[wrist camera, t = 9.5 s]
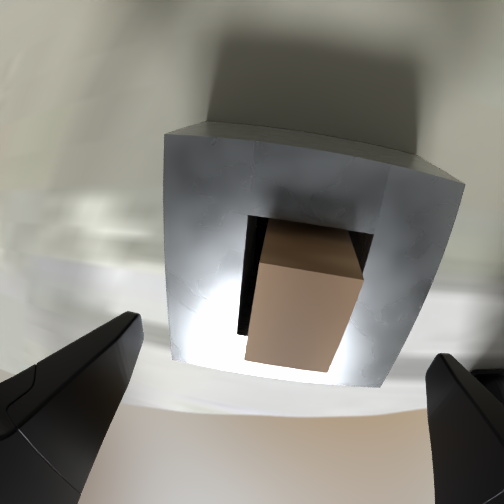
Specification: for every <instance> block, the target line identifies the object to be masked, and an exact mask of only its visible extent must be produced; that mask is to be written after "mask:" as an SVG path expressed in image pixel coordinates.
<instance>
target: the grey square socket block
mask: <svg viewBox="0 0 504 504" xmlns="http://www.w3.org/2000/svg"><path fill="white" fill-rule="evenodd" d="M464 188H465V184H464V183H463V182H461V181H459V180H458V179H456V178H455V177H453V176H451V175H450V174H448V173H446V172H445V171H443V170H441V169H440V168H438V167H436V166H435V165H433V164H431V163H429V162H428V161H426V160H424V159H422V158H421V157H419V156H417V155H414V154H410V153H406V152H402V151H398V150H394V149H390V148H386V147H381V146H377V145H372V144H368V143H363V142H358V141H353V140H348V139H343V138H338V137H332V136H327V135H321V134H315V133H309V132H302V131H296V130H288V129H281V128H273V127H265V126H256V125H247V124H236V123H225V122H211V121H205V122H201V123H198V124H194V125H191V126H188V127H185V128H182V129H178V130H175V131H172V132H169V133H166V134H164V173H163V211H164V251H165V274H166V291H167V306H168V319H169V331H170V342H171V352H172V360H176V361H181V362H185V363H190V364H195V365H199V366H204V367H210V368H215V369H220V370H226V371H231V372H237V373H243V374H249V375H256V376H262V377H269V378H276V379H284V380H292V381H301V382H310V383H320V384H331V385H344V386H359V387H379V388H380V387H381V385H382V383H383V382H384V380H385V378H386V376H387V375H388V373H389V371H390V369H391V367H392V366H393V364H394V362H395V360H396V358H397V356H398V355H399V353H400V351H401V349H402V347H403V345H404V343H405V341H406V339H407V337H408V335H409V333H410V331H411V329H412V327H413V325H414V323H415V321H416V319H417V316H418V314H419V312H420V310H421V308H422V305H423V303H424V301H425V299H426V296H427V294H428V292H429V289H430V287H431V285H432V282H433V280H434V277H435V275H436V272H437V270H438V267H439V265H440V262H441V259H442V257H443V254H444V251H445V248H446V246H447V243H448V240H449V237H450V234H451V231H452V228H453V225H454V222H455V219H456V215H457V212H458V209H459V205H460V202H461V199H462V195H463V191H464ZM258 216H260V217H267V218H274V219H281V220H287V221H294V222H301V223H307V224H314V225H320V226H326V227H333V228H339V229H345V230H348V233H349V236H350V239H351V241H352V244H353V247H354V250H355V253H356V256H357V259H358V262H359V265H360V269H361V272H362V275H363V278H364V282H363V285H362V288H361V291H360V293H359V296H358V299H357V302H356V304H355V307H354V310H353V312H352V315H351V317H350V320H349V322H348V325H347V328H346V330H345V333H344V335H343V337H342V340H341V342H340V345H339V347H338V349H337V352H336V354H335V357H334V359H333V361H332V363H331V366H330V368H329V370H328V373H322V372H314V371H306V370H299V369H292V368H285V367H278V366H272V365H265V364H259V363H254V362H248V361H244V355H245V349H246V343H247V337H248V331H249V324H250V318H251V312H252V306H253V300H254V293H255V287H256V281H257V275H258V273H256V272H252V268H253V259H254V250H255V242H256V233H257V224H258Z"/></svg>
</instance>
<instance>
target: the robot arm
mask: <svg viewBox="0 0 504 504" xmlns="http://www.w3.org/2000/svg"><path fill="white" fill-rule="evenodd" d="M143 340H144V332H143V325H142V319H141V316H140V314H138V313H134V312H130V311H127V312H125V313H123V314H121V315H119V316H118V317H116V318H114V319H112V320H111V321H109V322H107V323H105V324H104V325H102V326H100V327H98V328H97V329H95V330H93V331H91V332H90V333H88V334H86V335H84V336H83V337H81V338H79V339H78V340H76V341H74V342H72V343H71V344H69V345H67V346H65V347H64V348H62V349H60V350H59V351H57V352H55V353H53V354H52V355H50V356H48V357H46V358H45V359H43V360H41V361H40V362H38V363H37V365H36V364H34V365H33V366H31V367H29V368H27V369H26V370H24V371H22V372H20V373H19V374H17V375H15V376H13V377H11V378H9V379H7V380H5V381H3V382H1V383H0V504H78V501H79V498H80V496H81V494H80V493H82V490H83V488H84V485H85V483H86V480H87V478H88V475H89V473H90V471H91V468H92V466H93V463H94V461H95V459H96V456H97V454H98V451H99V449H100V447H101V445H102V442H103V440H104V437H105V435H106V433H107V431H108V429H109V426H110V424H111V422H112V419H113V417H114V415H115V413H116V411H117V408H118V406H119V404H120V402H121V400H122V397H123V395H124V393H125V391H126V389H127V386H128V384H129V382H130V379H131V376H132V373H133V370H134V367H135V364H136V361H137V358H138V355H139V352H140V349H141V346H142V343H143ZM425 380H426V394H427V414H428V424H429V433H430V441H431V450H432V460H433V472H434V488H435V504H504V369H502V370H481V371H474V372H472V373H470V372H469V371H468V370H467V369H465V368H464V367H463V366H462V365H461V364H460V363H459V362H458V361H457V360H456V359H455V358H454V357H453V356H452V355H450V354H448V353H439V354H438V355H436V357H435V358H434V360H433V362H432V363H431V365H430V367H429V368H428V370H427V372H426V376H425Z"/></svg>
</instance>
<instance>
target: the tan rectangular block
mask: <svg viewBox="0 0 504 504" xmlns="http://www.w3.org/2000/svg"><path fill="white" fill-rule="evenodd" d="M363 282H364V278H363V275H362V272H361V269H360V265H359V262H358V259H357V256H356V253H355V250H354V247H353V244H352V241H351V239H350V236H349V233H348V230H345V229H339V228H333V227H326V226H320V225H314V224H307V223H301V222H294V221H287V220H281V219H274V218H269V221H268V225H267V230H266V235H265V239H264V244H263V248H262V253H261V258H260V262H259V268H258V275H257V281H256V287H255V293H254V300H253V306H252V312H251V318H250V324H249V331H248V337H247V343H246V349H245V355H244V361H248V362H254V363H259V364H265V365H272V366H278V367H285V368H292V369H299V370H306V371H314V372H322V373H328V370H329V368H330V366H331V363H332V361H333V359H334V357H335V354H336V352H337V349H338V347H339V345H340V342H341V340H342V337H343V335H344V333H345V330H346V328H347V325H348V322H349V320H350V317H351V315H352V312H353V310H354V307H355V304H356V302H357V299H358V296H359V293H360V291H361V288H362V285H363Z"/></svg>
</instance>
